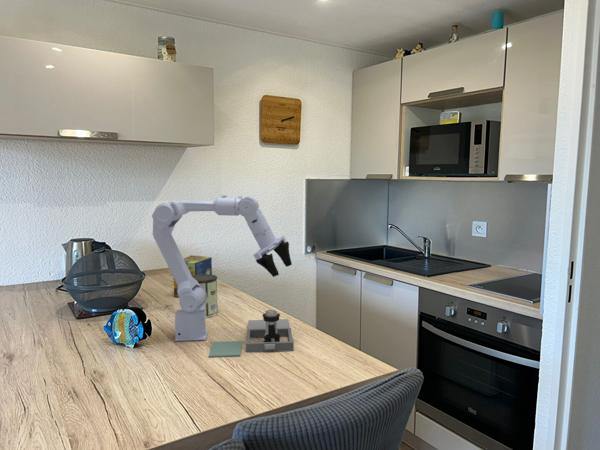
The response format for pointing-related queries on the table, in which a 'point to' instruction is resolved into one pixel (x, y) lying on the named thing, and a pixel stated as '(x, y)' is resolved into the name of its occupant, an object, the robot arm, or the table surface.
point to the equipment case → (259, 329)
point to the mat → (226, 349)
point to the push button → (271, 326)
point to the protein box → (196, 267)
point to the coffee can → (209, 293)
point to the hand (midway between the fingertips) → (282, 270)
